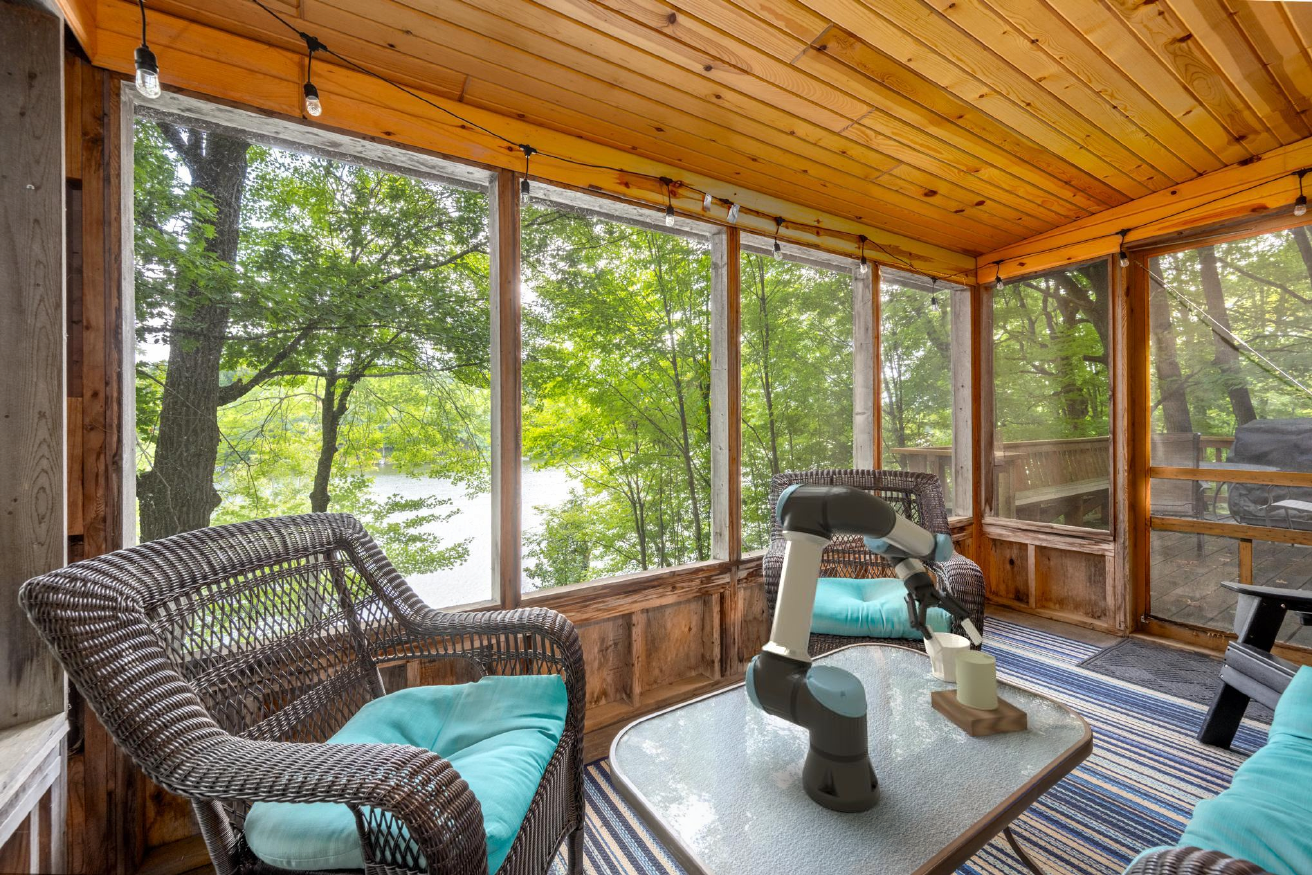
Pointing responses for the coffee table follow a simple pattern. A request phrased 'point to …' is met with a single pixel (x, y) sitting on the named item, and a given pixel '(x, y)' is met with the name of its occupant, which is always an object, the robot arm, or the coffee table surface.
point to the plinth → (979, 715)
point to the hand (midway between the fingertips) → (960, 646)
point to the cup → (946, 655)
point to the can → (976, 679)
